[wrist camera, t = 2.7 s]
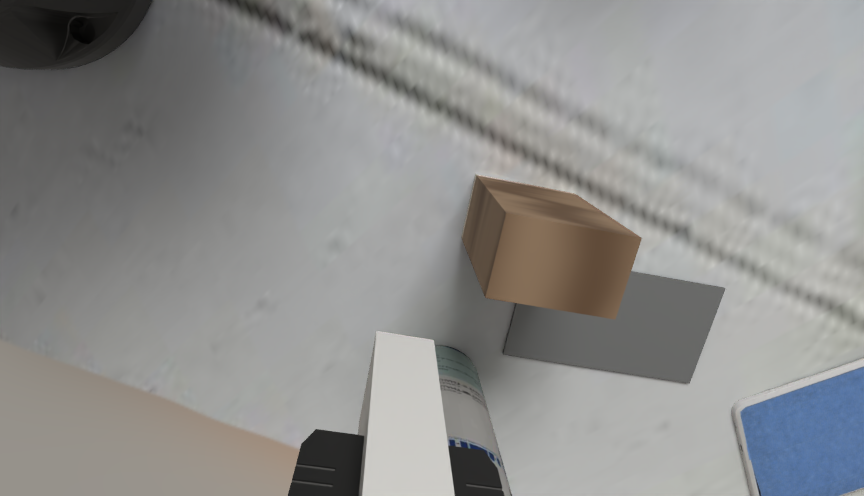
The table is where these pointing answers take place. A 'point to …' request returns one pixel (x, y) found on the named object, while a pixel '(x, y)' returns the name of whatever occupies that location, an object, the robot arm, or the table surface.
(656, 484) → the table surface
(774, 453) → the tablet computer
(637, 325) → the mat
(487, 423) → the spray paint can
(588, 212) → the walnut block
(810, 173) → the table surface
